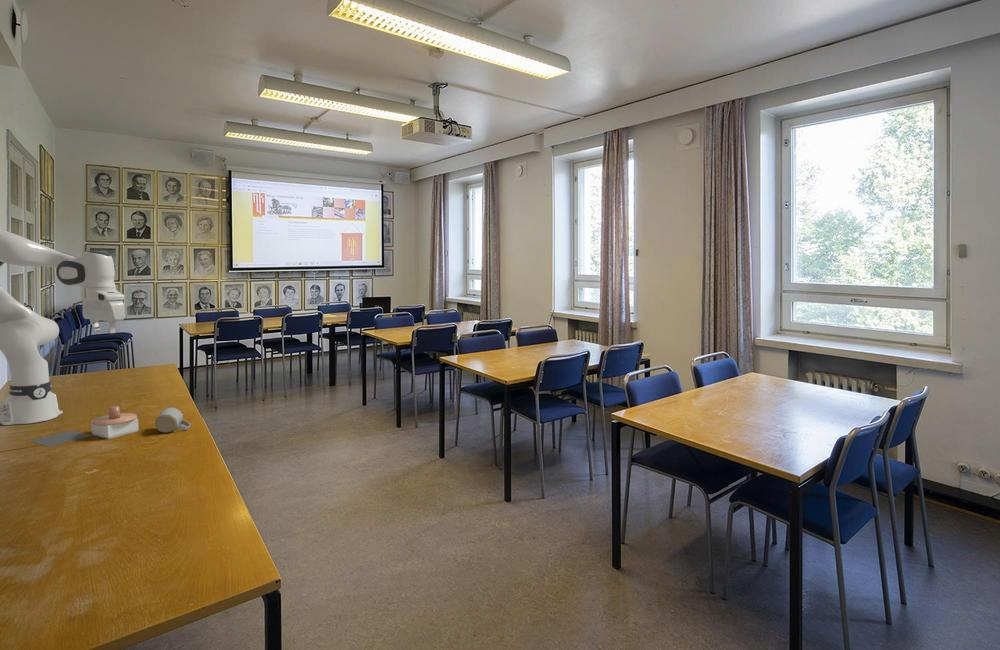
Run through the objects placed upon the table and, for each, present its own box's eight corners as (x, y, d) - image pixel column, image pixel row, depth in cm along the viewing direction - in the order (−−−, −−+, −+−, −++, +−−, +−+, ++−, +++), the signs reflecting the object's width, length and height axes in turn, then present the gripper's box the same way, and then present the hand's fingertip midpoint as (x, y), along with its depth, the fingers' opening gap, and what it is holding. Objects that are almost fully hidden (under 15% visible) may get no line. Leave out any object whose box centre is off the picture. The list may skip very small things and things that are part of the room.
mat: (28, 441, 181) (28, 440, 181) (72, 431, 192) (72, 430, 192) (48, 448, 175) (48, 446, 175) (92, 436, 187) (92, 435, 187)
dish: (92, 435, 188) (91, 421, 187) (122, 428, 197) (121, 414, 196) (108, 440, 184) (107, 425, 183) (138, 432, 193) (137, 418, 192)
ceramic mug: (154, 434, 190) (153, 413, 189) (160, 428, 198) (159, 407, 197) (188, 432, 194) (187, 411, 193) (192, 425, 201) (191, 406, 200)
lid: (83, 422, 187) (82, 409, 186) (123, 413, 198) (122, 400, 198) (105, 427, 181) (104, 413, 181) (144, 418, 193) (144, 405, 192)
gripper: (75, 294, 198) (78, 331, 199) (108, 296, 189) (111, 334, 190) (94, 293, 203) (97, 329, 205) (127, 295, 195) (129, 333, 196)
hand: (104, 332), depth 198 cm, fingers open, 8 cm apart
